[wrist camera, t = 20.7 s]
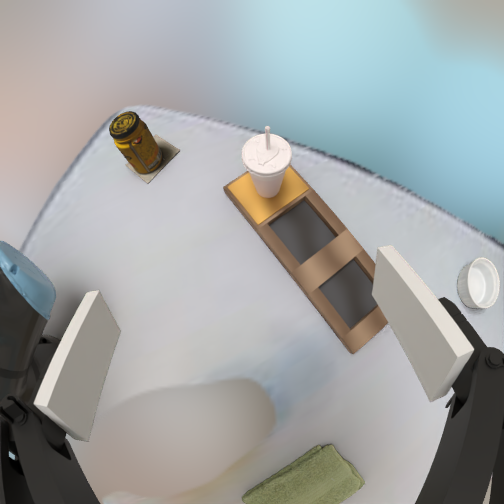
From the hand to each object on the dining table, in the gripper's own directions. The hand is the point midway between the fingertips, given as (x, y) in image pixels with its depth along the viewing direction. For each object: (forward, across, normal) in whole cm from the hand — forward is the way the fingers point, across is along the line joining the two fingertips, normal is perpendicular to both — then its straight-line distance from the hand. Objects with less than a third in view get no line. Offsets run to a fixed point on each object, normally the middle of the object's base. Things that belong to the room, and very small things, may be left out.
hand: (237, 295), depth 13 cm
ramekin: (+19, +39, -23) cm, 49 cm away
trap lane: (+27, +10, -15) cm, 33 cm away
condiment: (+43, -15, 0) cm, 45 cm away
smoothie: (+33, +4, -6) cm, 34 cm away
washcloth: (-1, +3, -44) cm, 44 cm away
